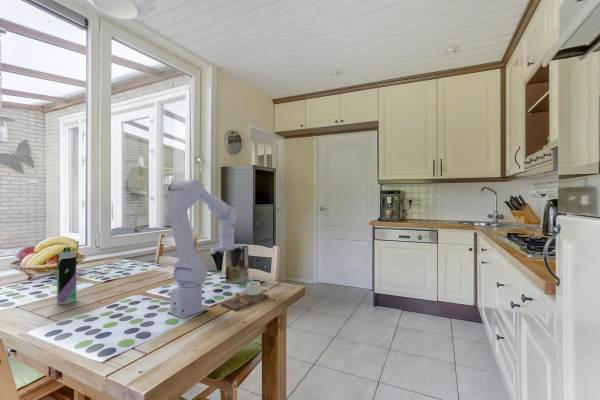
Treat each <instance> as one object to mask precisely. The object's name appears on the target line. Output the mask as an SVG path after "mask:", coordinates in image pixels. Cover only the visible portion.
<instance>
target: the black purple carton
mask: <svg viewBox="0 0 600 400" xmlns="http://www.w3.org/2000/svg"><path fill="white" fill-rule="evenodd" d="M76 301H77V253H76V252H74V251H73V250H71V247H63V249H62V250H61V252H60V253H58V254H57V256H56V304H57V305H66V304H67V305H68V304H71V303H75V302H76Z"/></svg>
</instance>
